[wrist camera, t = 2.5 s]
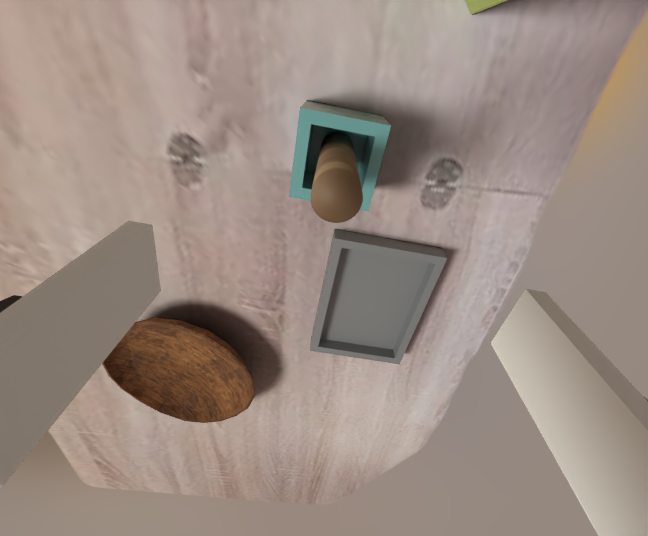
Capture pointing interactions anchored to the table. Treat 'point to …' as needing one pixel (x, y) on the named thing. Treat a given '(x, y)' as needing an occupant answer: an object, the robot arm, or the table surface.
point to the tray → (373, 295)
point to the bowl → (181, 371)
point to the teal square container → (358, 125)
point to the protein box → (481, 5)
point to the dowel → (336, 180)
